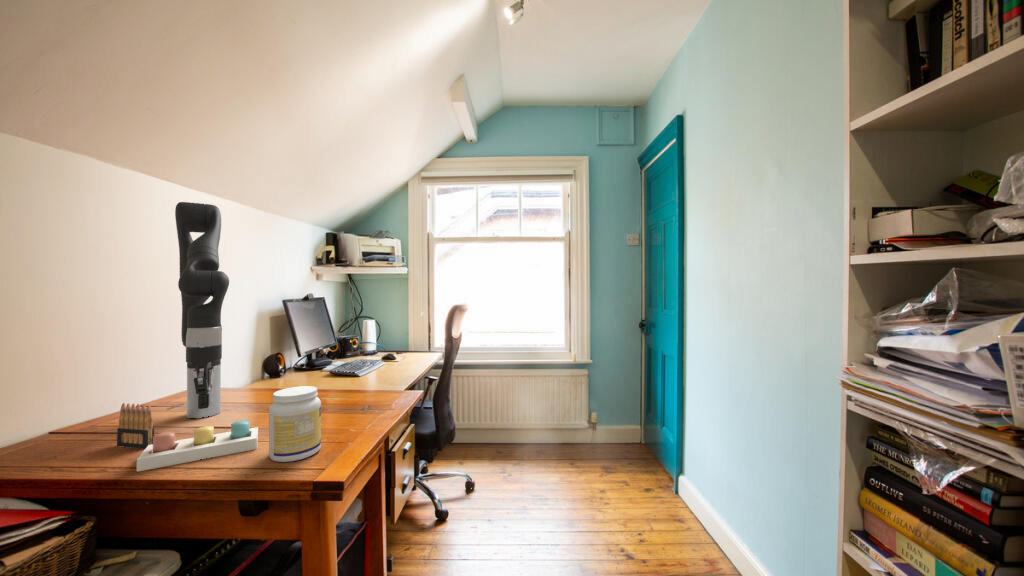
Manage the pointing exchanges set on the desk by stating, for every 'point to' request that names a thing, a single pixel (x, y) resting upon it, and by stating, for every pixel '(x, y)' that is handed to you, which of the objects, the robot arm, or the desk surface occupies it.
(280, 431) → the supplement tub
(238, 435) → the teal button
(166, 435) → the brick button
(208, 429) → the ochre button
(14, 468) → the desk surface
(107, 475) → the desk surface
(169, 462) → the panel
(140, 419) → the ammunition clip
